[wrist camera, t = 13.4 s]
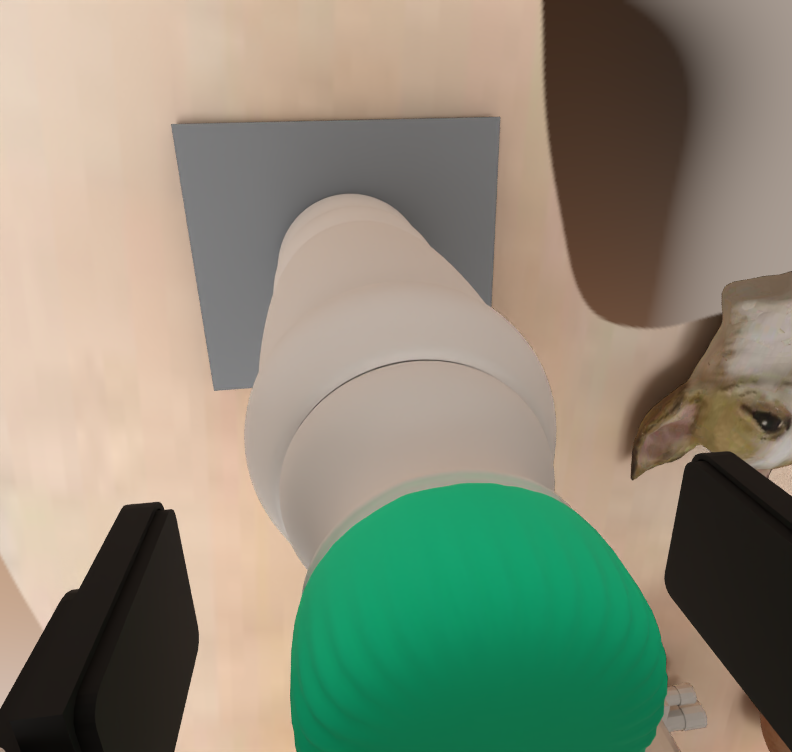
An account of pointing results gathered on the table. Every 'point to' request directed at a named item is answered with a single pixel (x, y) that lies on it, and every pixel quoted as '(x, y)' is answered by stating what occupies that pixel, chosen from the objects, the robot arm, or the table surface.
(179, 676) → the robot arm
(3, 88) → the table surface
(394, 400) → the water bottle
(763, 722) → the onion
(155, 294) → the table surface
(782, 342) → the ceramic sculpture
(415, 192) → the slate mat
